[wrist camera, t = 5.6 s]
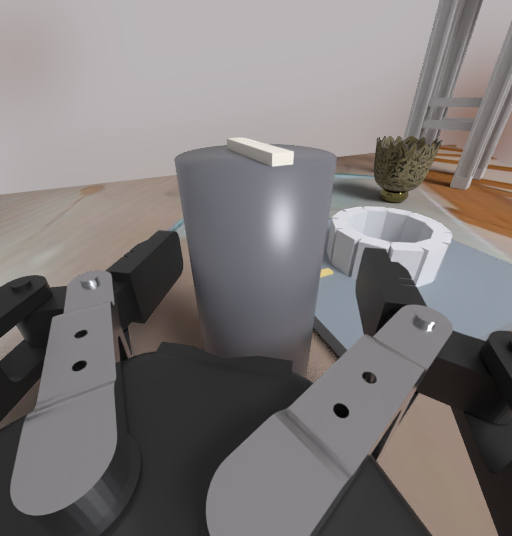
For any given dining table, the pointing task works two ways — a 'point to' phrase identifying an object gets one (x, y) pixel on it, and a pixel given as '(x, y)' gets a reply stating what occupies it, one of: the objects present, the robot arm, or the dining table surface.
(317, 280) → the grey cylinder with tab
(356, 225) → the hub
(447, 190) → the dining table surface
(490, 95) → the stool
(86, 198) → the dining table surface
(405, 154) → the cup
